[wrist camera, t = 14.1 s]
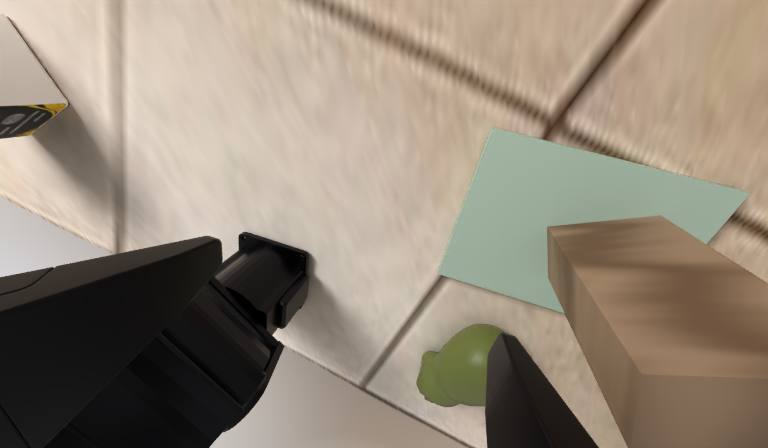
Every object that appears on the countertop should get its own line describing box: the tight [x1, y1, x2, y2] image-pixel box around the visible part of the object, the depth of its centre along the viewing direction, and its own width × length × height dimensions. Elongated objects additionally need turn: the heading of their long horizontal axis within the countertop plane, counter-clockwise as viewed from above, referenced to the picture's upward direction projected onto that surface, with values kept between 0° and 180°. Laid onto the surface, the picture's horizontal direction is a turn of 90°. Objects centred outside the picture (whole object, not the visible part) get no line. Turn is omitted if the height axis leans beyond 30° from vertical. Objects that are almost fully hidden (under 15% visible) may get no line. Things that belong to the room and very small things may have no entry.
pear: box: [417, 324, 505, 407], centre depth 24 cm, size 6×5×10 cm
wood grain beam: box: [547, 215, 768, 448], centre depth 14 cm, size 6×4×11 cm, turn 103°
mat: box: [438, 127, 750, 314], centre depth 19 cm, size 14×11×1 cm
